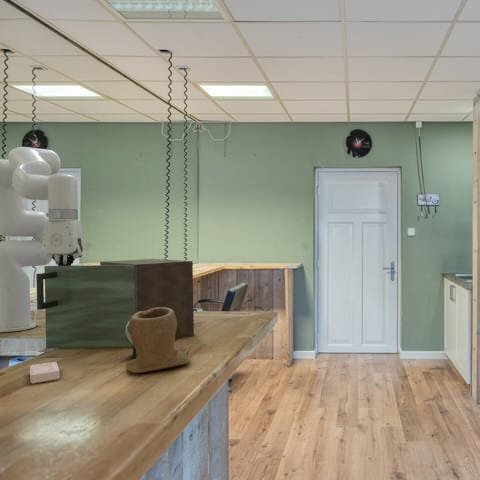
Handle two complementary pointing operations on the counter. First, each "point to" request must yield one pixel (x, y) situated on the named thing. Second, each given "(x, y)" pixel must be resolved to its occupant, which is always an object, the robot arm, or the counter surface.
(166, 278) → the cupboard
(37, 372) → the soap bar
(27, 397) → the counter surface
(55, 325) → the cupboard door
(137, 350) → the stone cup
